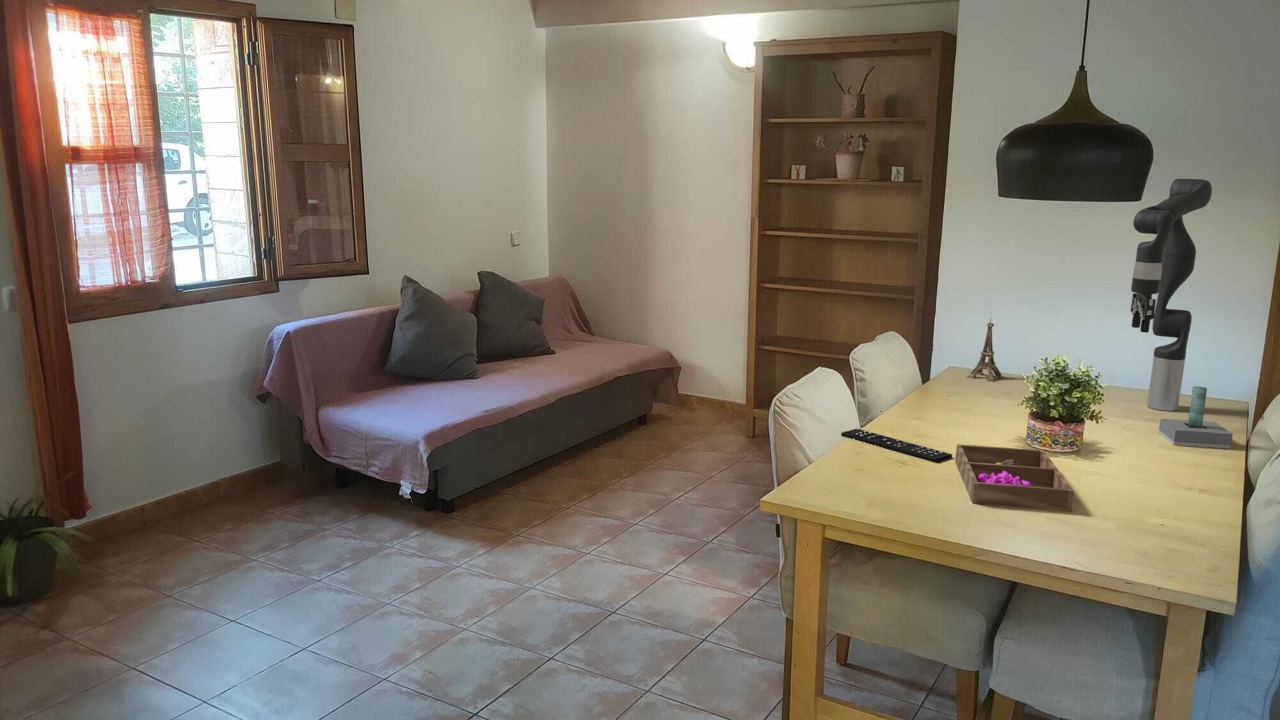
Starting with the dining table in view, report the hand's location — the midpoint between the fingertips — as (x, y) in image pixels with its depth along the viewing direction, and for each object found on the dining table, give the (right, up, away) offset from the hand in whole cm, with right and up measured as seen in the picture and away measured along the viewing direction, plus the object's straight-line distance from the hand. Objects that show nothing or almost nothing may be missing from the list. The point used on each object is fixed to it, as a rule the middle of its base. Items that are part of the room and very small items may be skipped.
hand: (1139, 329), depth 286 cm
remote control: (-81, -34, -20) cm, 90 cm away
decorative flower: (-57, -40, -48) cm, 85 cm away
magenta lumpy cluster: (-65, -43, -60) cm, 98 cm away
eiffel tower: (-22, -16, +69) cm, 74 cm away
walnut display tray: (-60, -41, -51) cm, 89 cm away
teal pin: (+10, -32, -10) cm, 35 cm away
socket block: (+11, -33, -10) cm, 36 cm away
